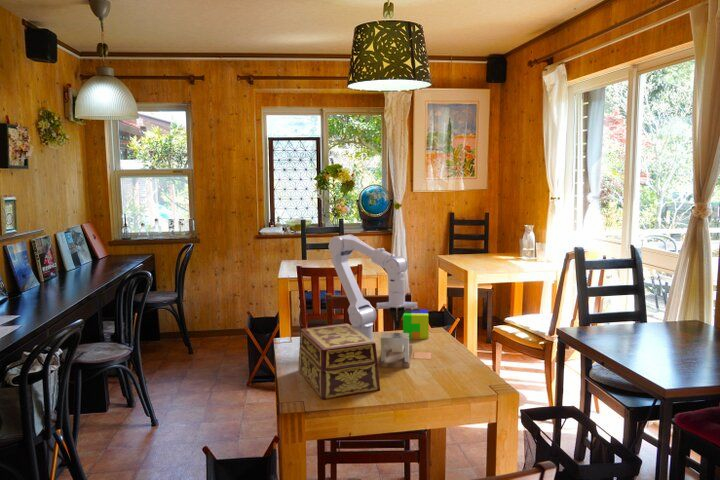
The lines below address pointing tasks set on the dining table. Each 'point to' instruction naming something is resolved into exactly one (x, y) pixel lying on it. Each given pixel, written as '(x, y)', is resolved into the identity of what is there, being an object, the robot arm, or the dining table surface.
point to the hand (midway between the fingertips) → (397, 328)
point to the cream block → (397, 348)
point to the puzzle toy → (416, 323)
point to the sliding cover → (394, 343)
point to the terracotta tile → (422, 355)
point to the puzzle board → (396, 358)
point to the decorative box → (338, 361)
